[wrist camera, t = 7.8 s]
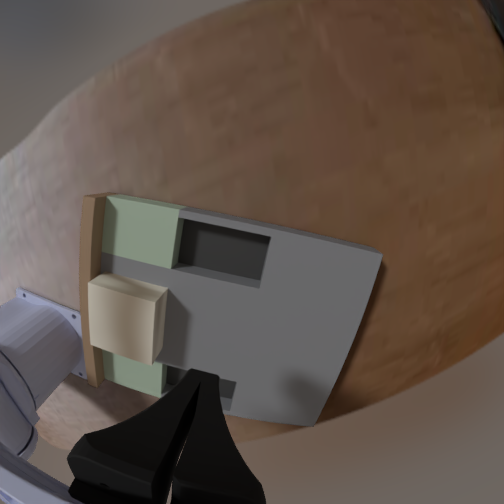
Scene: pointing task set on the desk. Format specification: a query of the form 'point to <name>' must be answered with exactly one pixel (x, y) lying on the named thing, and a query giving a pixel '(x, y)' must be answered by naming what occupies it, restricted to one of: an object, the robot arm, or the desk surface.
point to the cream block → (127, 316)
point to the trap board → (230, 303)
